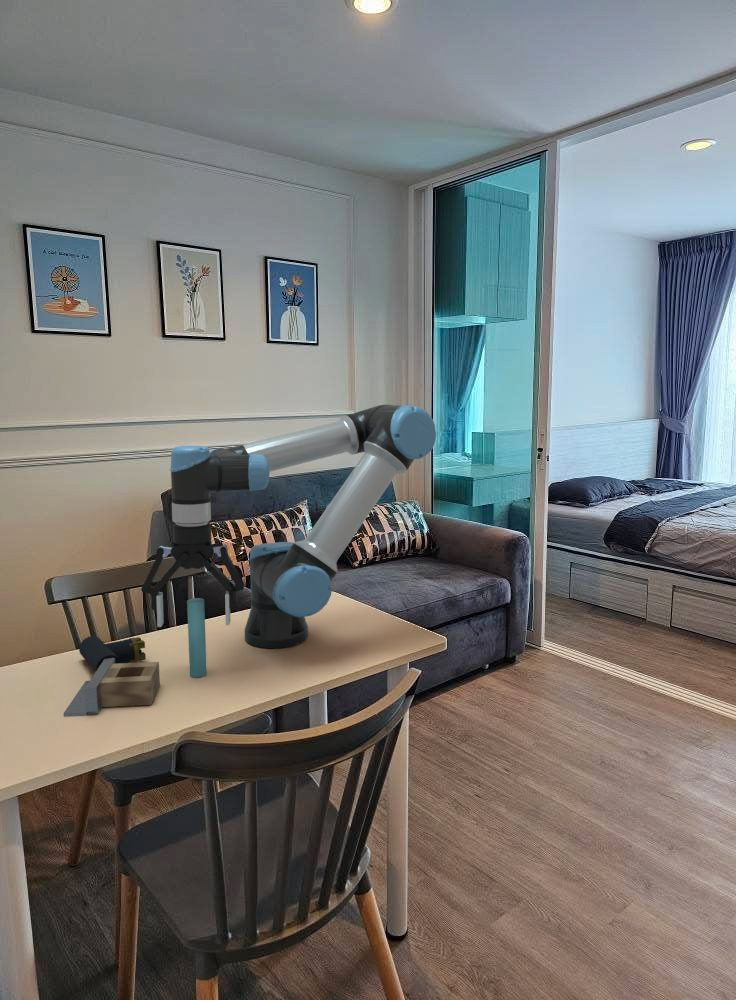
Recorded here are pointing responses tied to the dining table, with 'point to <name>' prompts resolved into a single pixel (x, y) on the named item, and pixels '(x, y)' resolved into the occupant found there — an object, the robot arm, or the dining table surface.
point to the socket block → (130, 684)
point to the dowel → (196, 637)
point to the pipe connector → (111, 651)
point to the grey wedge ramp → (89, 693)
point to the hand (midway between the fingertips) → (194, 624)
